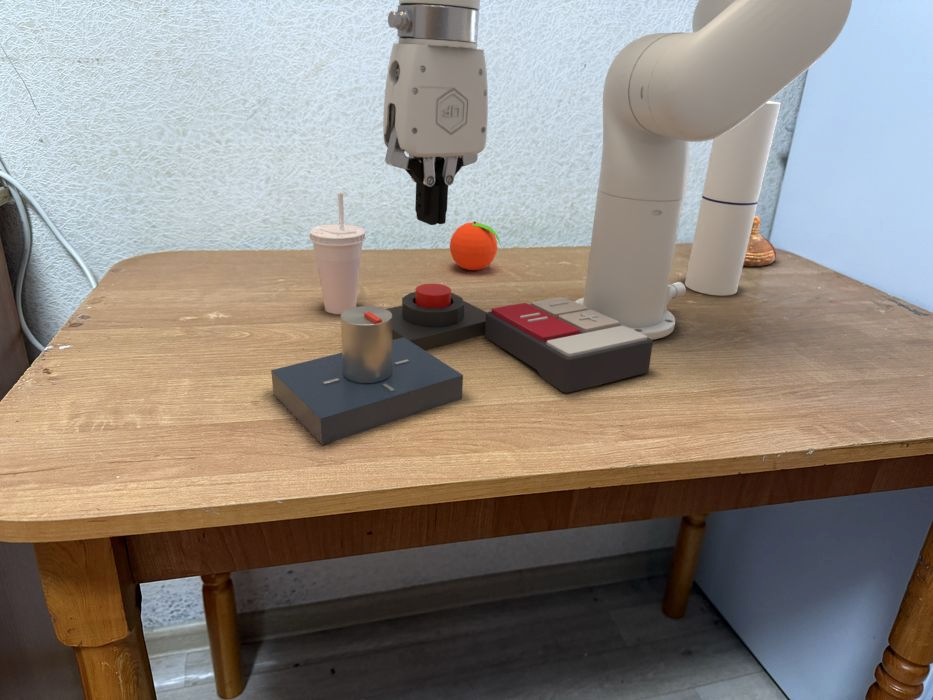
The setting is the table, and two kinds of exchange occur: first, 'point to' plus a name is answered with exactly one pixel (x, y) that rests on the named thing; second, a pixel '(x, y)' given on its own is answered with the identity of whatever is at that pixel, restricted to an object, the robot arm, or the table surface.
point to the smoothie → (338, 261)
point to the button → (433, 296)
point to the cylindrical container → (730, 203)
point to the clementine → (474, 246)
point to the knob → (366, 344)
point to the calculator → (569, 343)
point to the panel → (364, 392)
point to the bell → (758, 248)
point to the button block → (436, 322)
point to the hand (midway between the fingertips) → (430, 221)
